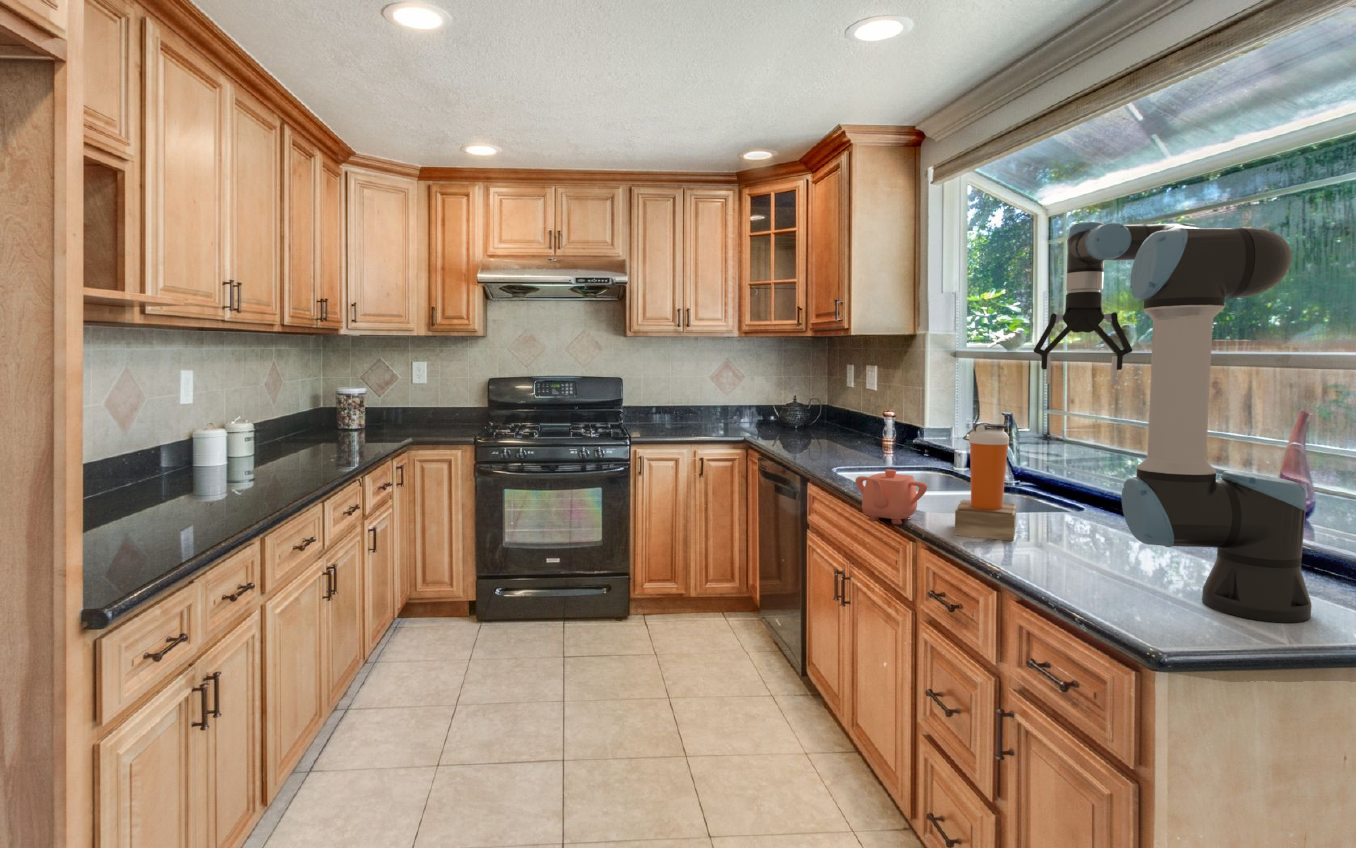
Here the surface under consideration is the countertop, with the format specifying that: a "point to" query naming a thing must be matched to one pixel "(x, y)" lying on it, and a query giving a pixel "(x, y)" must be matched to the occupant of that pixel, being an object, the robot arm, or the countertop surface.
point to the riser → (985, 521)
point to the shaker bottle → (988, 465)
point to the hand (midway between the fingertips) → (1080, 384)
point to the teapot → (890, 495)
